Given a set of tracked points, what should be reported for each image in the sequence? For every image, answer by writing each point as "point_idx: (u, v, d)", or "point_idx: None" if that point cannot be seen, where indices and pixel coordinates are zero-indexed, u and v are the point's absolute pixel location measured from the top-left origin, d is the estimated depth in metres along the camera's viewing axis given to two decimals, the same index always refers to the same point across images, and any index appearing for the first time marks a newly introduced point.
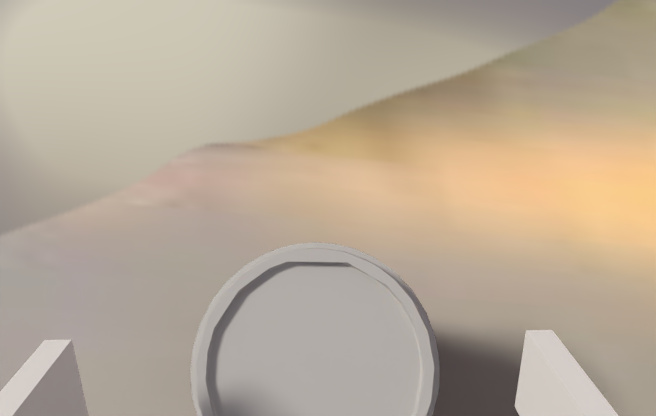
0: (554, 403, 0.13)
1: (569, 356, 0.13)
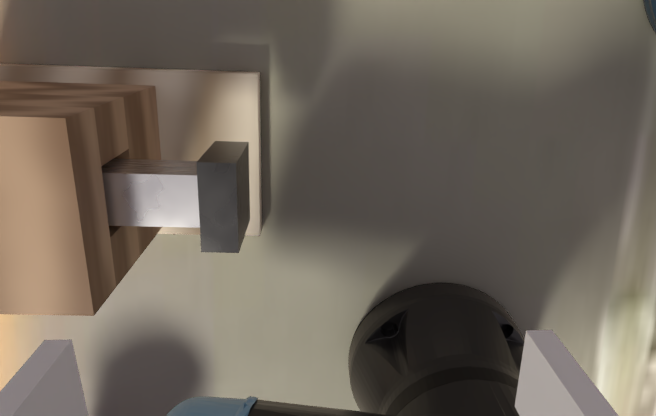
0: (554, 403, 0.13)
1: (569, 356, 0.13)
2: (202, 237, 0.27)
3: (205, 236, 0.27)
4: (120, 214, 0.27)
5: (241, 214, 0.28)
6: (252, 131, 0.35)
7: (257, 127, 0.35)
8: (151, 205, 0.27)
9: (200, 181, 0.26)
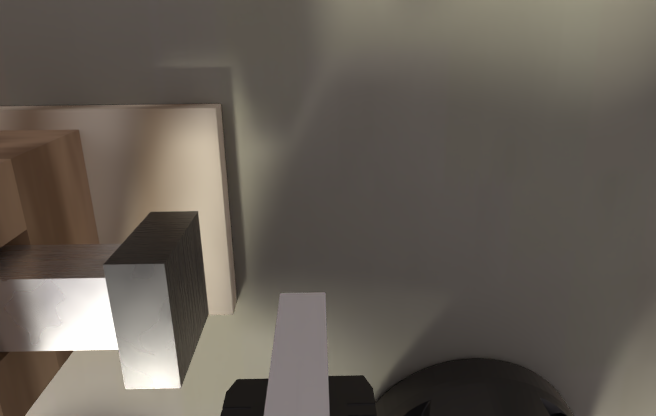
0: None
1: None
2: (124, 369, 0.18)
3: (129, 367, 0.18)
4: (5, 336, 0.18)
5: (185, 326, 0.19)
6: (214, 184, 0.26)
7: (220, 178, 0.26)
8: (49, 321, 0.18)
9: (112, 292, 0.17)
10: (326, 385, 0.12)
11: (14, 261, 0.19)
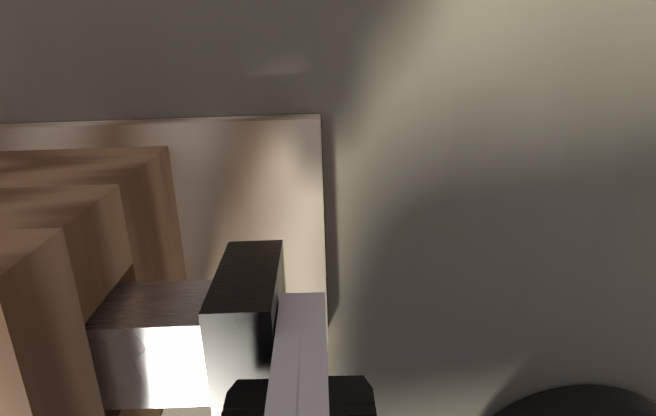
0: None
1: None
2: None
3: None
4: None
5: None
6: (314, 202, 0.24)
7: (321, 196, 0.24)
8: (127, 376, 0.16)
9: (208, 345, 0.14)
10: (326, 385, 0.12)
11: None
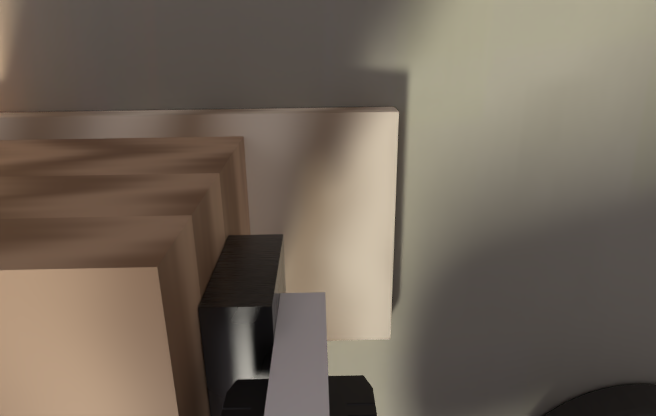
0: None
1: None
2: None
3: None
4: None
5: None
6: (386, 196, 0.24)
7: (394, 189, 0.24)
8: None
9: (207, 339, 0.14)
10: (326, 385, 0.12)
11: None
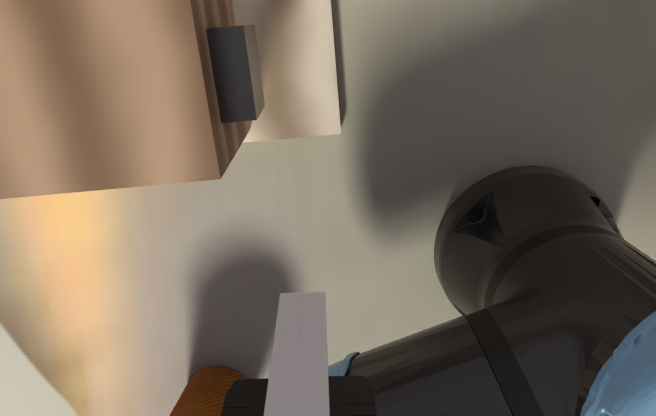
0: None
1: None
2: (220, 108, 0.28)
3: (223, 106, 0.28)
4: None
5: (255, 86, 0.29)
6: (326, 25, 0.36)
7: (331, 20, 0.36)
8: None
9: (212, 48, 0.26)
10: (326, 385, 0.12)
11: None
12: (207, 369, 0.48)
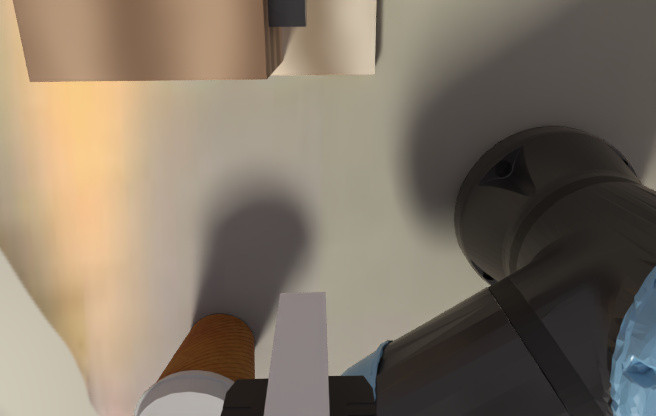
0: None
1: None
2: (269, 10, 0.27)
3: (273, 8, 0.27)
4: None
5: None
6: None
7: None
8: None
9: None
10: (326, 385, 0.12)
11: None
12: (212, 316, 0.46)
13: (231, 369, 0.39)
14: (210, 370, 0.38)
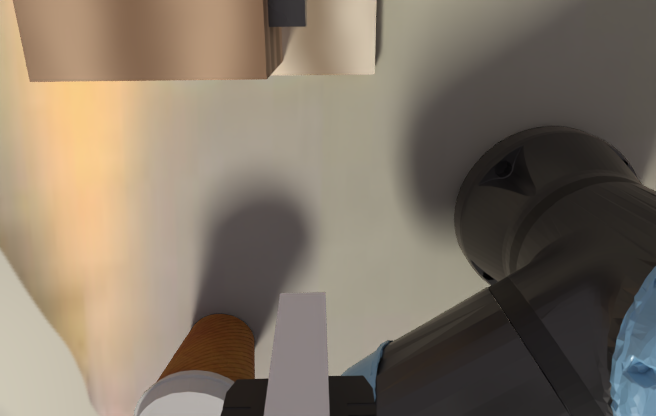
0: None
1: None
2: (269, 10, 0.27)
3: (273, 8, 0.27)
4: None
5: None
6: None
7: None
8: None
9: None
10: (326, 385, 0.12)
11: None
12: (212, 316, 0.46)
13: (231, 369, 0.39)
14: (210, 370, 0.38)
